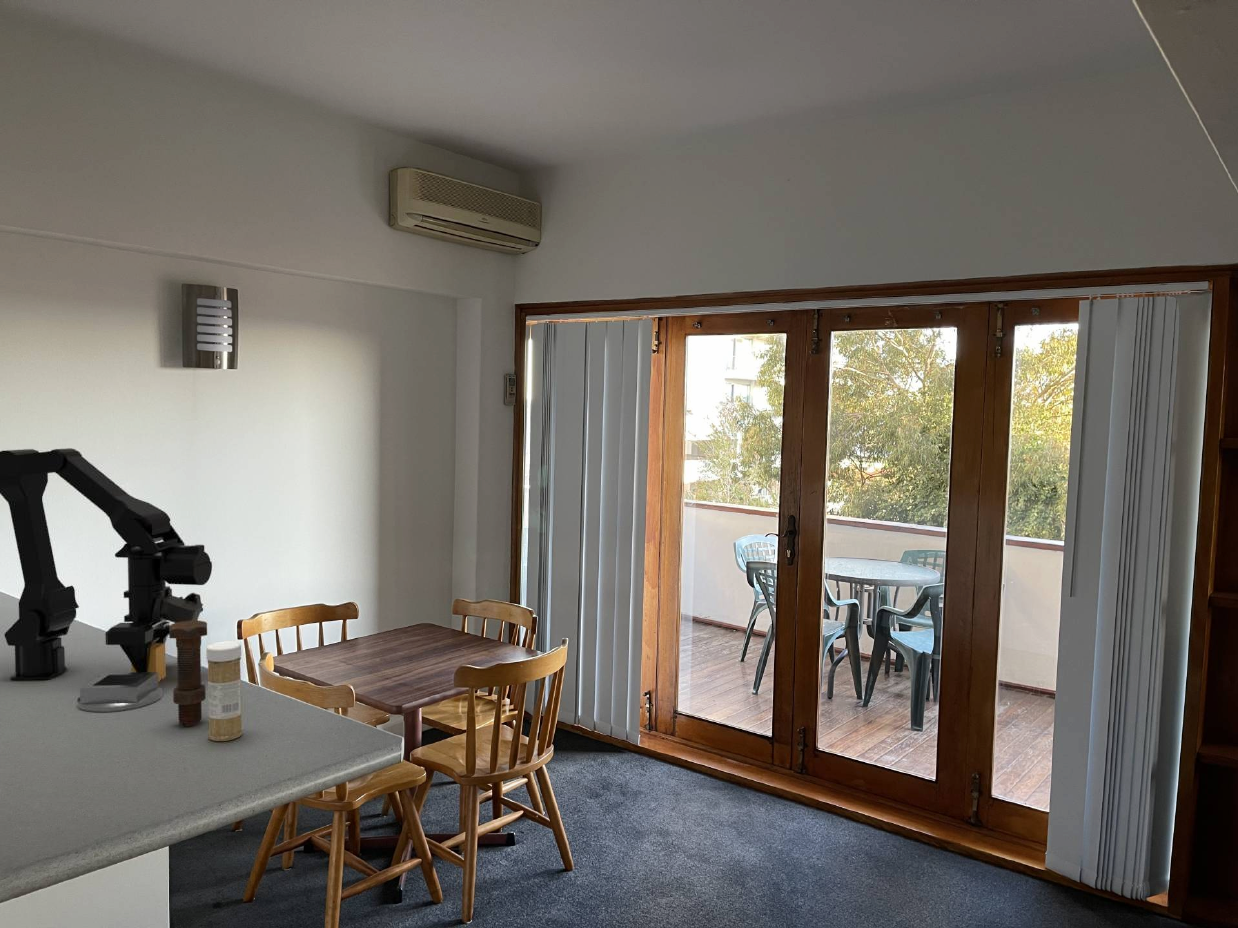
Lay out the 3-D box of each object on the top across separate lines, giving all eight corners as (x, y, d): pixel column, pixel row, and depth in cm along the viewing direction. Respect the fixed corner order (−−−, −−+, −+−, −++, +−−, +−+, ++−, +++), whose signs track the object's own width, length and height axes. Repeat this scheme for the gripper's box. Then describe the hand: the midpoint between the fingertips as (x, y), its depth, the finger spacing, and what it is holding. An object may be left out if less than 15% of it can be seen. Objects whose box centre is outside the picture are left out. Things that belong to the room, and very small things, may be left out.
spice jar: (241, 729, 136) (240, 638, 135) (243, 739, 131) (242, 646, 131) (207, 733, 134) (205, 642, 133) (208, 744, 129) (206, 649, 129)
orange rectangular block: (132, 683, 157) (131, 649, 157) (141, 677, 161) (141, 643, 161) (156, 683, 158) (155, 648, 157) (165, 676, 162) (165, 642, 161)
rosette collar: (62, 712, 142) (61, 691, 142) (99, 689, 154) (98, 669, 154) (144, 711, 143) (143, 690, 143) (174, 688, 155) (173, 668, 155)
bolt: (217, 718, 140) (216, 620, 139) (199, 730, 135) (197, 628, 134) (181, 717, 141) (179, 619, 140) (161, 728, 136) (159, 627, 135)
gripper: (174, 593, 150) (176, 688, 151) (214, 573, 168) (215, 657, 169) (102, 594, 149) (105, 689, 150) (150, 573, 167) (152, 658, 168)
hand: (148, 672), depth 159 cm, fingers open, 4 cm apart
